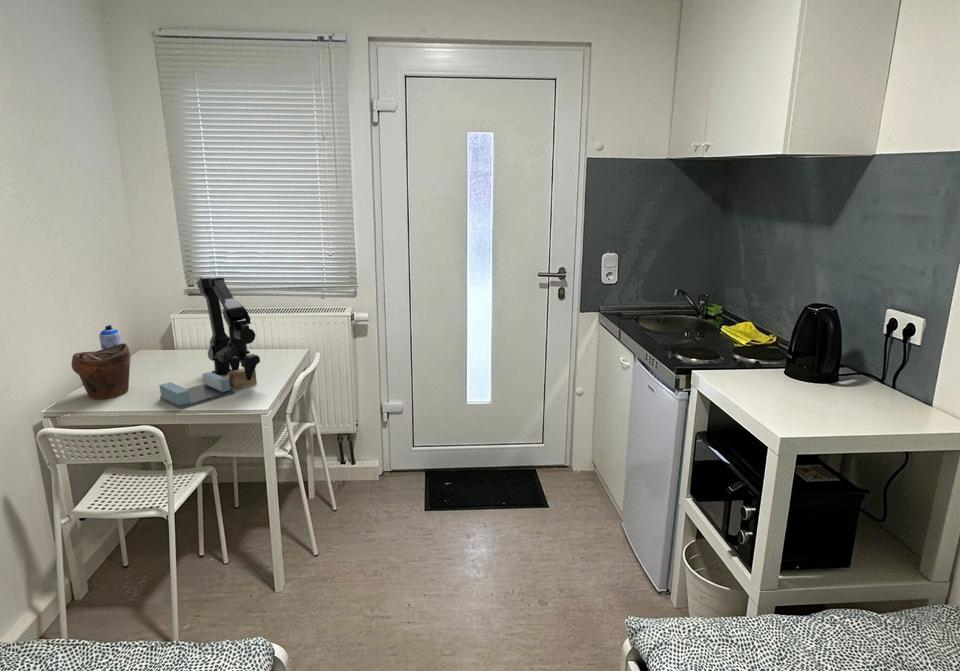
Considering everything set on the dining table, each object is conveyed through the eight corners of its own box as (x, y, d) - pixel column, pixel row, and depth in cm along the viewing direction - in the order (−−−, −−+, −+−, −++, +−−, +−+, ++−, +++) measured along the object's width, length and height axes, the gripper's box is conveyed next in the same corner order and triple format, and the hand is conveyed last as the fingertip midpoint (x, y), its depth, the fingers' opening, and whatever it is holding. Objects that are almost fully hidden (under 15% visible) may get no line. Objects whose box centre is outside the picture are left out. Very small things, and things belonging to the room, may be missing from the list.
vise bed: (160, 398, 228) (159, 396, 227) (213, 384, 242) (212, 381, 242) (180, 408, 218) (180, 406, 217) (234, 393, 232) (234, 390, 232)
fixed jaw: (161, 396, 227) (159, 385, 226) (173, 393, 230) (171, 381, 229) (179, 405, 218) (177, 393, 217) (191, 402, 221) (189, 390, 220)
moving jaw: (203, 384, 238) (201, 374, 237) (211, 382, 241) (210, 371, 240) (221, 392, 230) (220, 381, 228) (230, 390, 232) (228, 379, 231)
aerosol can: (120, 375, 253) (112, 328, 248) (101, 376, 253) (92, 328, 248) (130, 369, 261) (123, 323, 256) (112, 370, 261) (104, 323, 256)
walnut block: (229, 387, 239) (227, 372, 238) (251, 381, 246) (249, 366, 244) (235, 389, 237) (233, 374, 235) (256, 383, 243) (255, 368, 242)
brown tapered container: (64, 400, 226) (56, 353, 222) (109, 383, 245) (102, 339, 240) (104, 406, 222) (96, 357, 217) (147, 387, 240) (141, 342, 236)
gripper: (205, 339, 236) (210, 378, 241) (230, 347, 225) (235, 388, 229) (232, 333, 245) (237, 370, 249) (258, 340, 233) (263, 380, 237)
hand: (242, 377), depth 241 cm, fingers open, 9 cm apart
